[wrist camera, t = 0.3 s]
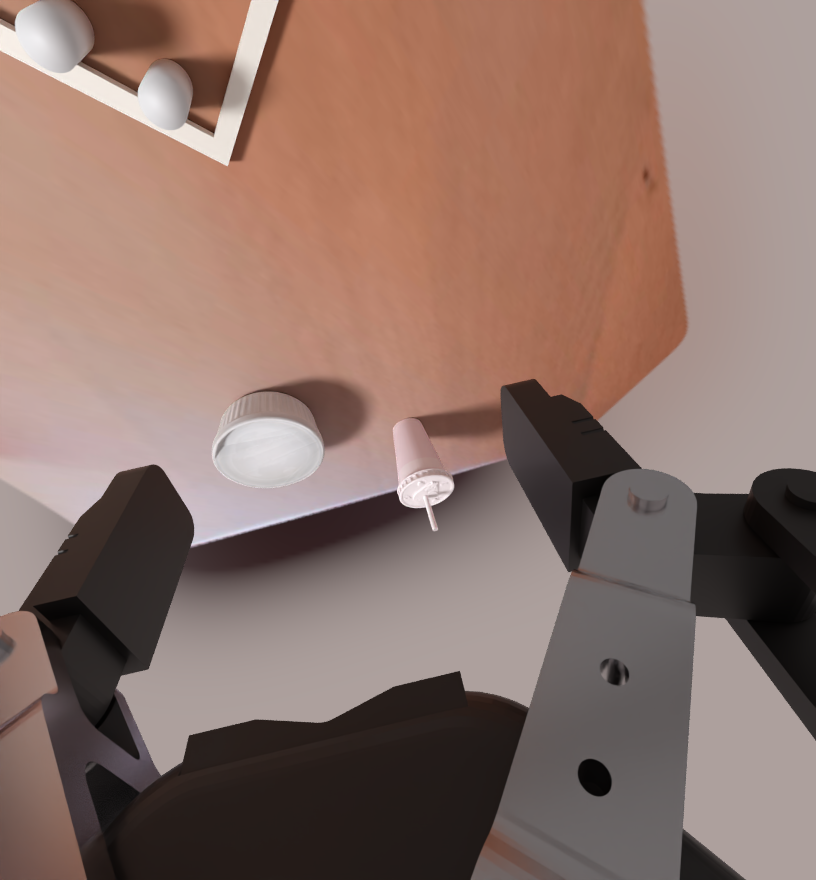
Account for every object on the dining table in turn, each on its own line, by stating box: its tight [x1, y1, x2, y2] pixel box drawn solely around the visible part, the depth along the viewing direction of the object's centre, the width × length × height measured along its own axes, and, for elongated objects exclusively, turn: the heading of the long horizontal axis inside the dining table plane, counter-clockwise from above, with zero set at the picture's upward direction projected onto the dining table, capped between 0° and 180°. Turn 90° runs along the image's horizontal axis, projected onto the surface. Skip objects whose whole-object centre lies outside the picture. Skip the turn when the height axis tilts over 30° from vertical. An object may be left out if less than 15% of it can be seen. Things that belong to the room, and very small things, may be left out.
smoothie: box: [393, 418, 454, 531], centre depth 51 cm, size 6×6×14 cm
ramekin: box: [212, 391, 325, 488], centre depth 48 cm, size 11×11×5 cm
